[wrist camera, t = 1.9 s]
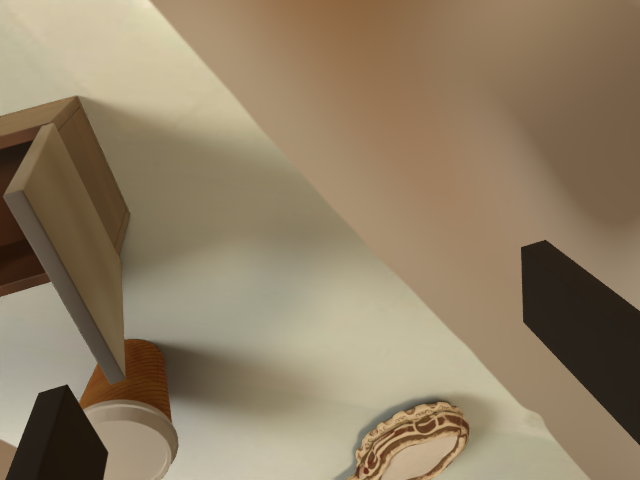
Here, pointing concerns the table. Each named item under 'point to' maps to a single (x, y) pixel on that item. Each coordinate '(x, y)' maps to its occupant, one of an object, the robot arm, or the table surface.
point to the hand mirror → (413, 444)
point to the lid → (71, 246)
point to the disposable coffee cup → (133, 415)
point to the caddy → (81, 143)
